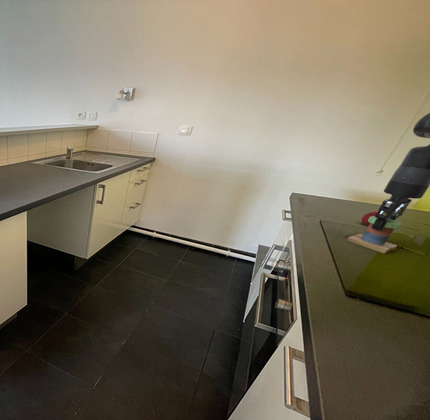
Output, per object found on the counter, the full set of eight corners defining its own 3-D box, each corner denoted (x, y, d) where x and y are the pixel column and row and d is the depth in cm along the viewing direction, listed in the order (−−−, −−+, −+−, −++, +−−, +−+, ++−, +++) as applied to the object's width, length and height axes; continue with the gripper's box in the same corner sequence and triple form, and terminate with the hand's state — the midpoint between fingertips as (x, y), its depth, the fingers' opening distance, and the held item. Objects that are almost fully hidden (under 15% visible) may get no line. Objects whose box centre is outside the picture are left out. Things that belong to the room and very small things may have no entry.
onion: (366, 230, 98) (377, 211, 95) (353, 224, 103) (363, 206, 100) (384, 232, 96) (395, 213, 93) (370, 226, 102) (381, 208, 99)
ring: (372, 219, 86) (375, 215, 86) (402, 227, 81) (405, 223, 80) (364, 221, 84) (366, 217, 83) (394, 230, 78) (397, 225, 78)
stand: (357, 237, 91) (372, 212, 87) (395, 249, 83) (413, 223, 80) (346, 240, 88) (360, 215, 84) (384, 253, 80) (402, 226, 76)
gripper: (421, 186, 71) (388, 236, 77) (438, 183, 76) (406, 230, 83) (382, 179, 77) (355, 226, 84) (400, 176, 83) (373, 221, 89)
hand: (380, 228), depth 83 cm, fingers closed on ring, 6 cm apart
